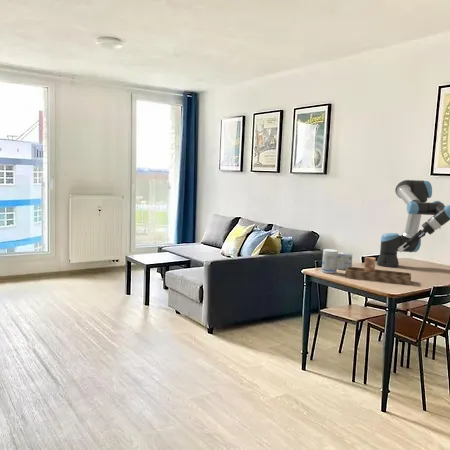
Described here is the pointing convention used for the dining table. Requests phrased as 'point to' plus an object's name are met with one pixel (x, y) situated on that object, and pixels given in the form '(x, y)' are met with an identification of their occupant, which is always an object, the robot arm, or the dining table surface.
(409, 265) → the dining table surface
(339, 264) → the light bulb box
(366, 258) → the block
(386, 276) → the box
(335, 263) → the supplement tub
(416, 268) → the dining table surface
